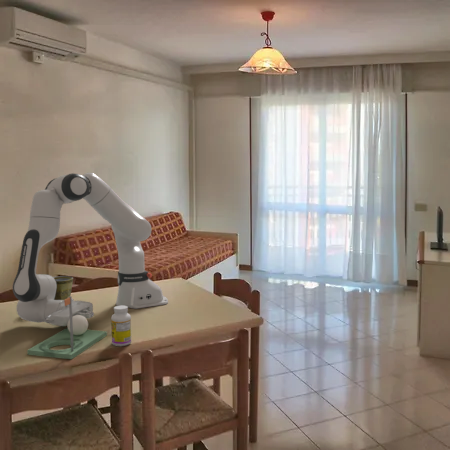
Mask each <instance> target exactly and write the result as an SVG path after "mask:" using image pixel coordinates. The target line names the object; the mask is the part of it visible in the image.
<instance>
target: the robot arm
mask: <svg viewBox="0 0 450 450" xmlns="http://www.w3.org/2000/svg"><path fill="white" fill-rule="evenodd" d="M82 199H83V200H84V201H86V202H87V203H88V205H89V206H90V207H92V209H93V210H95V211H96V212H97V214H98V215H99V216H101V217H102V218H103V219H104V220H105V221H106V222H108V223H109V224H111V225H110V227H111V230H112V232H113V235H114V240H115V244H116V250H117V254H118V271H117V285H118V290H117V291H118V292H117V298H116V302H115V305H116V306H121V305H123V306H127V307H128V308H131V309H135V310H136V309H143V308H149V307H150V308H151V307H157V306H162V305H168V304H169V300H168V298H167V297H166V296H164V295H163V290H162V287H160V286H159V284H157V283H156V282H154V281H153V280H152V279H151V278H152V277H153V274H152V273H151V272H149V271H148V270H147V271H146V270H145V267H146V265H145V264H146V263H145V251H144V250H143V247H142V244H141V242H143V241H146V240H147V239H149V238H150V236H151V234H152V230H153V229H152V225H151V223H150V221H148V220H147V219H146V218H145V217H144V216H143V215H141V214H140V213H139V212H138V211H137V210H136V209H134V208H133V207H132V206H131V205H129V203H127V202H126V201H124V200H123V198H121V197H120V196H119V195H118V194H117V192H115V190H113V188H112V187H111V186H110V185H109V184H108V183H106V181H104V180H103V179H102V178H101V177H100V176H98V175H97V174H95V173H93V172H86V173H84V174H78V173H74V172H73V173H68V174H63V175H59V176H58V177H56V178H53V179H52V180H50V181H49V182H48V183H47V185H46V187H45V188H44V189H40V190H38V191H36V192H35V193H34V195H33V197H32V201H31V207H30V214H29V223H28V228H27V231H26V233H25V235H24V237H23V241H22V244H21V251H20V256H19V262H18V268H17V272H16V275H15V278H14V279H13V282H12V292H13V295H14V298H16V299H17V300H18V301H17V303H16V314H17V315H18V316H19V318H20V319H22V320H24V321H28V322H32V323H47V324H51V325H52V326H60V327H66V326H67V327H68V321H69V320H70V310H69V305H67V306H65V300H54V299H55V295H56V290H57V283H56V281H55V279H54V278H53V277H54V276H52V275H50V274H48V273H47V274H43V273H41V274H40V273H39V274H37V266H38V260H39V254H40V251H41V249H42V247H44V245H46V244H47V243H50V242H52V241H53V240H54V239H56V237H57V236H58V235H59V232H60V227H61V210H62V207H63V205H64V204H72V203H73V202H77V201H78V202H79V201H80V200H82ZM93 307H94V305H93V302H91V301H84V300H74V298H72V317H73V316H75V315H81V316H84V317H85V318H86V319H88V320H89V319H91V318H93V317H94V316H95V315H94V308H93Z"/></svg>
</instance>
